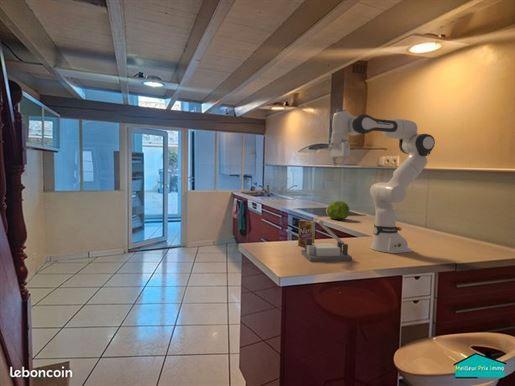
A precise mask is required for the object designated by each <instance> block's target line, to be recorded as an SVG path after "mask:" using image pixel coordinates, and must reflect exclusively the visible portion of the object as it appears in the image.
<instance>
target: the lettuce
mask: <svg viewBox="0 0 515 386" xmlns="http://www.w3.org/2000/svg"><path fill="white" fill-rule="evenodd" d="M325 213H326V215H327V216H328V217H329V218H331V219H333V220H335V219H337V220H336V221H341V220H342V221H343V220H345V219H347V218H348V216H349V214H350V207H349V204H348V203H346V202H345V201H340V200H337V201H333V202H331V203H329V205H328V206H327V207H326V209H325Z"/></svg>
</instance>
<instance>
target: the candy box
mask: <svg viewBox="0 0 515 386" xmlns="http://www.w3.org/2000/svg"><path fill="white" fill-rule="evenodd" d="M315 233H316V220H306V219H300V220H298V235H297V236H298V237H297V238H298V239H297V240H298V241H297V246H300V247H304V248H305V238H311V239H312V244H315V239H316V238H315Z"/></svg>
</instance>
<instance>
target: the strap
mask: <svg viewBox="0 0 515 386" xmlns="http://www.w3.org/2000/svg"><path fill="white" fill-rule="evenodd" d="M315 223H317V225H319V226H320V227H321V228H323V229H324V230H325V232H327V233H328V234H329V235H330V236H331V237H333V238H334V240H336V241H337V243H338V242H339V243H341V244H342V246H343V244H345V241H342V239H340V237H338V236H337V235H336V234H335V233H334V232H333V231H332V230H331V229H330V228H329V227H327V225H325V224H324V221H322V220H321V219H319V218H317V219H316V220H315Z"/></svg>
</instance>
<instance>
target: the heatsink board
mask: <svg viewBox="0 0 515 386" xmlns="http://www.w3.org/2000/svg"><path fill="white" fill-rule="evenodd" d="M348 252H349V244H348V243H344V244H343V245H342V244H341V243H339V242H338V241H337V245H336V244H334V243H333V242H332V243H329V242H328V243H327V242H326V243H325V242H323V243H321V242H320V243H319V242H317V243H314V244H312V239H311V238H305V247H304V249H301V255H302V256H303V257H304V258H305V259H307V260H308V261H309V262H331V261H332V262H340V261H341V262H342V261H343V262H345V261H346V262H347V261H352V260H353V258H352V257H353V256H352V255H350V254H348Z"/></svg>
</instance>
